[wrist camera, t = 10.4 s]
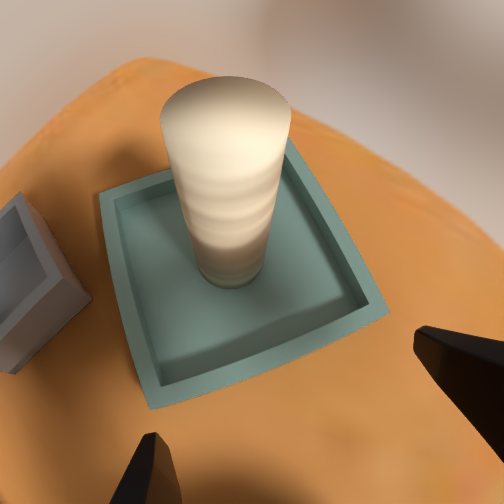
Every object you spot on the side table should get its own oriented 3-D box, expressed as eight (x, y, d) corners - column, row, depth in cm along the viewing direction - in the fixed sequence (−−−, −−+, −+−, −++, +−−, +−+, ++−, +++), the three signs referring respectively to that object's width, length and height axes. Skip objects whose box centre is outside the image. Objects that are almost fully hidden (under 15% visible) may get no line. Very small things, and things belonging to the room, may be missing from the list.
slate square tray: (92, 299, 18) (63, 277, 14) (15, 374, 15) (-22, 366, 11) (45, 219, 20) (20, 191, 16) (-21, 286, 17) (-51, 267, 14)
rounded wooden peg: (260, 292, 18) (290, 162, 8) (192, 285, 18) (142, 152, 8) (265, 232, 19) (291, 81, 9) (202, 225, 19) (179, 75, 9)
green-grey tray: (375, 321, 18) (390, 312, 16) (160, 407, 15) (149, 410, 13) (284, 156, 23) (288, 136, 21) (108, 210, 21) (98, 193, 19)
